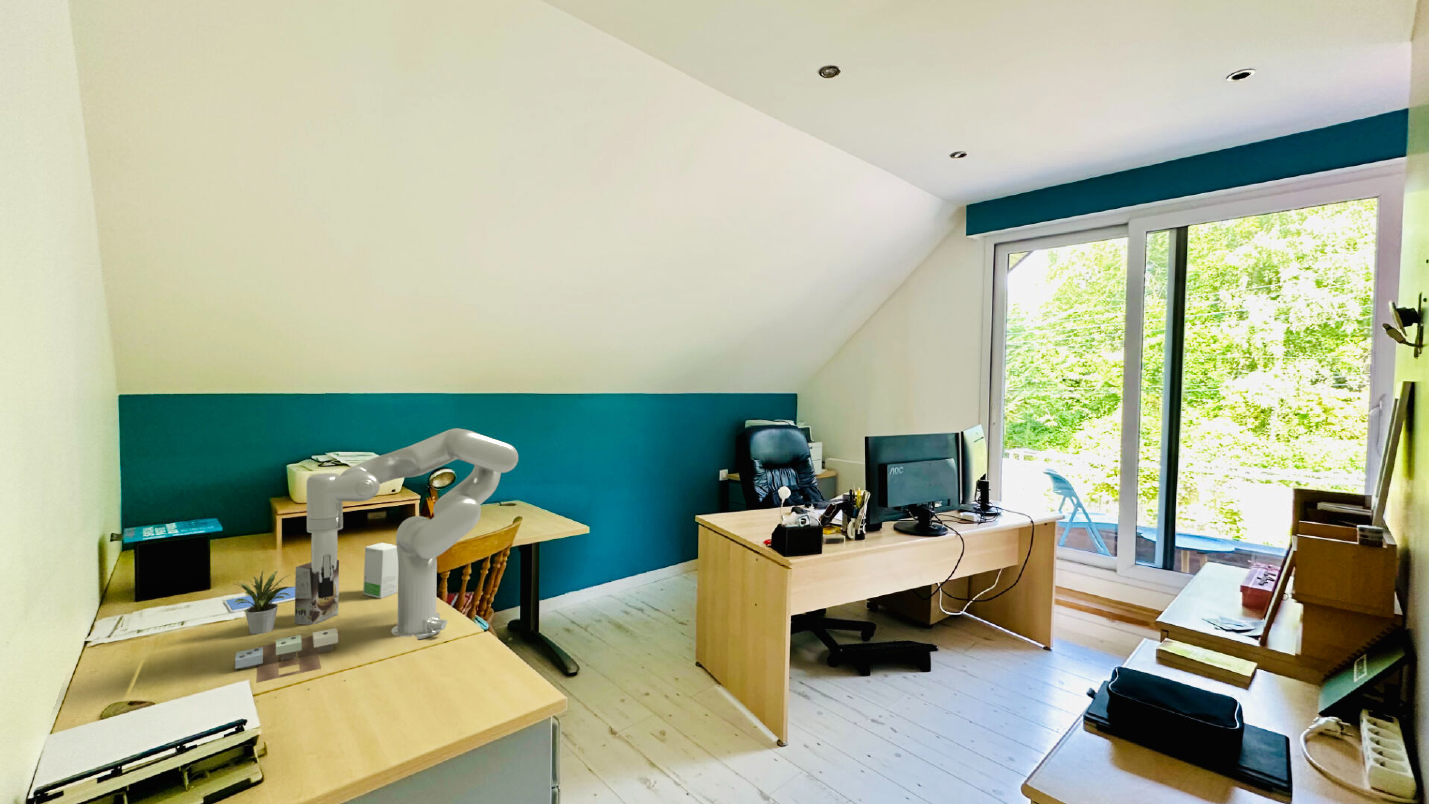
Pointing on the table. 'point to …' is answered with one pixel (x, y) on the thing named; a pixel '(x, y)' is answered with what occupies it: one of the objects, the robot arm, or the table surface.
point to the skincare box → (380, 570)
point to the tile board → (288, 661)
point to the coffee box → (313, 596)
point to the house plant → (262, 605)
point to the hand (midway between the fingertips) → (325, 596)
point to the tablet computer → (243, 606)
